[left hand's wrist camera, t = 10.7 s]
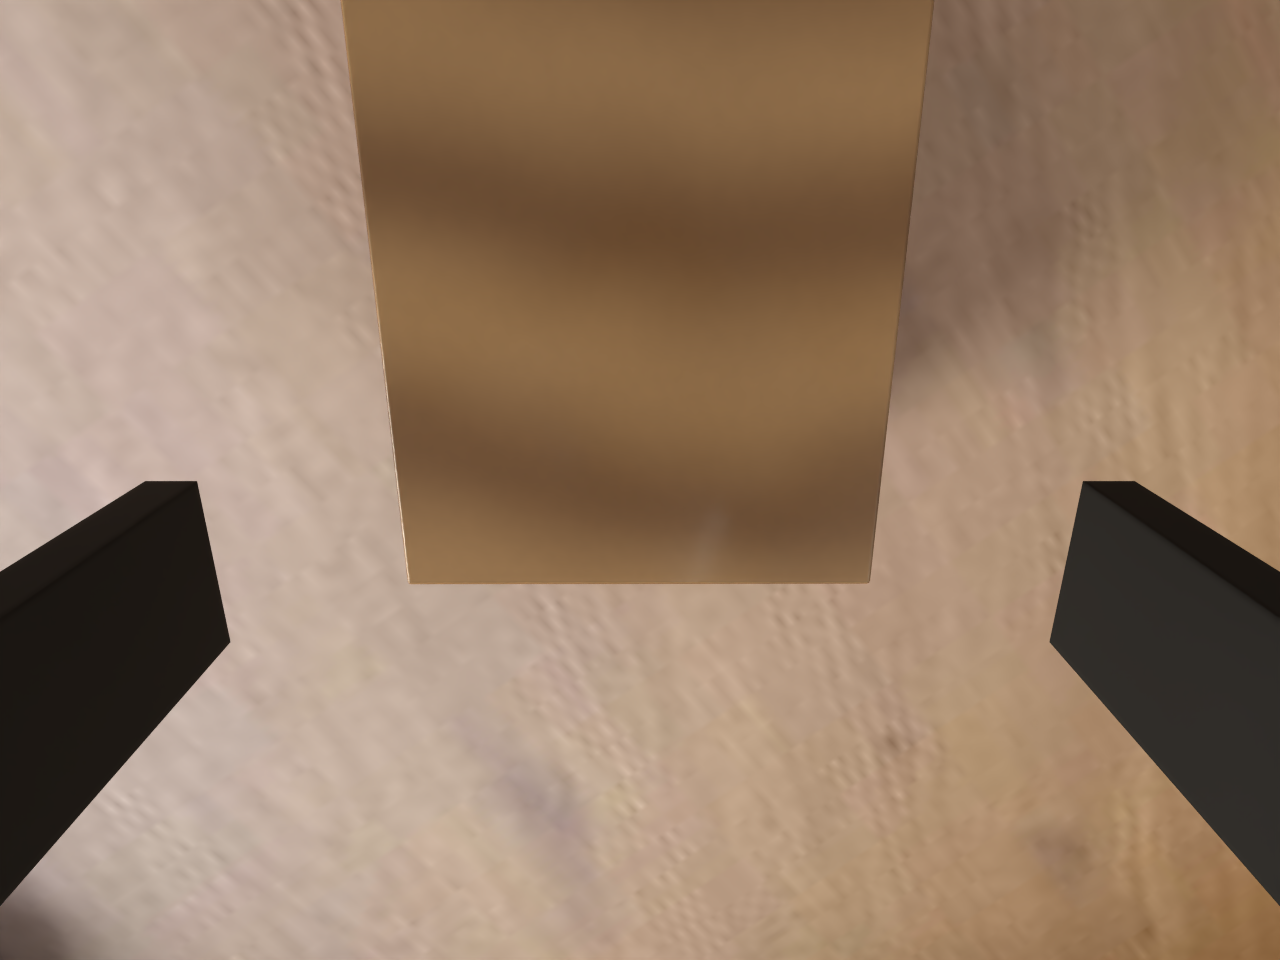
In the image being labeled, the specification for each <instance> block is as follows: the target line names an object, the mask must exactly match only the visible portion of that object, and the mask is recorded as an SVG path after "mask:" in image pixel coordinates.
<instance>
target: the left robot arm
mask: <svg viewBox="0 0 1280 960" xmlns="http://www.w3.org/2000/svg"><path fill="white" fill-rule="evenodd" d="M229 643H230V638H229V633H228V628H227V623H226V619H225V614H224V609H223V604H222V599H221V594H220V590H219V585H218V580H217V575H216V570H215V566H214V561H213V556H212V551H211V546H210V542H209V537H208V532H207V527H206V522H205V518H204V513H203V508H202V503H201V498H200V493H199V489H198V484H197V481H145V482H143V483H142V484H140V485H138V486H137V487H135V488H134V489H132V490H130V491H129V492H127V493H126V494H124V495H122V496H121V497H119V498H118V499H116V500H114V501H113V502H111V503H110V504H108V505H106V506H105V507H103V508H102V509H100V510H98V511H97V512H95V513H94V514H92V515H90V516H89V517H87V518H86V519H84V520H82V521H81V522H79V523H78V524H76V525H74V526H73V527H71V528H70V529H68V530H66V531H65V532H63V533H62V534H60V535H58V536H57V537H55V538H54V539H52V540H50V541H49V542H47V543H46V544H44V545H42V546H41V547H39V548H38V549H36V550H34V551H33V552H31V553H30V554H28V555H26V556H25V557H23V558H22V559H20V560H18V561H17V562H15V563H14V564H12V565H10V566H9V567H7V568H6V569H4V570H2V571H1V572H0V906H1V905H2V903H3V902H4V901H5V900H6V899H7V898H8V896H9V895H10V894H11V893H12V892H13V891H14V890H15V888H16V887H17V886H18V885H19V884H20V883H21V882H22V880H23V879H24V878H25V877H26V876H27V875H28V874H29V872H30V871H31V870H32V869H33V868H34V867H35V866H36V864H37V863H38V862H39V861H40V860H41V859H42V857H43V856H44V855H45V854H46V853H47V852H48V851H49V849H50V848H51V847H52V846H53V845H54V844H55V843H56V841H57V840H58V839H59V838H60V837H61V836H62V835H63V833H64V832H65V831H66V830H67V829H68V828H69V827H70V825H71V824H72V823H73V822H74V821H75V820H76V819H77V817H78V816H79V815H80V814H81V813H82V812H83V810H84V809H85V808H86V807H87V806H88V805H89V804H90V802H91V801H92V800H93V799H94V798H95V797H96V796H97V794H98V793H99V792H100V791H101V790H102V789H103V788H104V786H105V785H106V784H107V783H108V782H109V781H110V780H111V778H112V777H113V776H114V775H115V774H116V773H117V771H118V770H119V769H120V768H121V767H122V766H123V765H124V763H125V762H126V761H127V760H128V759H129V758H130V757H131V755H132V754H133V753H134V752H135V751H136V750H137V749H138V747H139V746H140V745H141V744H142V743H143V742H144V741H145V739H146V738H147V737H148V736H149V735H150V734H151V732H152V731H153V730H154V729H155V728H156V727H157V726H158V724H159V723H160V722H161V721H162V720H163V719H164V718H165V716H166V715H167V714H168V713H169V712H170V711H171V710H172V708H173V707H174V706H175V705H176V704H177V703H178V702H179V700H180V699H181V698H182V697H183V696H184V695H185V693H186V692H187V691H188V690H189V689H190V688H191V687H192V685H193V684H194V683H195V682H196V681H197V680H198V679H199V677H200V676H201V675H202V674H203V673H204V672H205V671H206V669H207V668H208V667H209V666H210V665H211V664H212V663H213V661H214V660H215V659H216V658H217V657H218V656H219V655H220V653H221V652H222V651H223V650H224V649H225V648H226V646H227V645H228V644H229ZM1050 643H1051V644H1052V645H1053V646H1054V648H1055V649H1056V650H1057V651H1058V652H1059V653H1060V655H1061V656H1062V657H1063V658H1064V659H1065V660H1066V661H1067V663H1068V664H1069V665H1070V666H1071V667H1072V668H1073V669H1074V671H1075V672H1076V673H1077V674H1078V675H1079V676H1080V677H1081V679H1082V680H1083V681H1084V682H1085V683H1086V684H1087V685H1088V687H1089V688H1090V689H1091V690H1092V691H1093V692H1094V693H1095V695H1096V696H1097V697H1098V698H1099V699H1100V700H1101V702H1102V703H1103V704H1104V705H1105V706H1106V707H1107V708H1108V710H1109V711H1110V712H1111V713H1112V714H1113V715H1114V716H1115V718H1116V719H1117V720H1118V721H1119V722H1120V723H1121V724H1122V726H1123V727H1124V728H1125V729H1126V730H1127V731H1128V732H1129V734H1130V735H1131V736H1132V737H1133V738H1134V739H1135V741H1136V742H1137V743H1138V744H1139V745H1140V746H1141V747H1142V749H1143V750H1144V751H1145V752H1146V753H1147V754H1148V755H1149V757H1150V758H1151V759H1152V760H1153V761H1154V762H1155V763H1156V765H1157V766H1158V767H1159V768H1160V769H1161V770H1162V771H1163V773H1164V774H1165V775H1166V776H1167V777H1168V778H1169V780H1170V781H1171V782H1172V783H1173V784H1174V785H1175V786H1176V788H1177V789H1178V790H1179V791H1180V792H1181V793H1182V794H1183V796H1184V797H1185V798H1186V799H1187V800H1188V801H1189V802H1190V804H1191V805H1192V806H1193V807H1194V808H1195V809H1196V810H1197V812H1198V813H1199V814H1200V815H1201V816H1202V817H1203V819H1204V820H1205V821H1206V822H1207V823H1208V824H1209V825H1210V827H1211V828H1212V829H1213V830H1214V831H1215V832H1216V833H1217V835H1218V836H1219V837H1220V838H1221V839H1222V840H1223V841H1224V843H1225V844H1226V845H1227V846H1228V847H1229V848H1230V849H1231V851H1232V852H1233V853H1234V854H1235V855H1236V856H1237V857H1238V859H1239V860H1240V861H1241V862H1242V863H1243V864H1244V866H1245V867H1246V868H1247V869H1248V870H1249V871H1250V872H1251V874H1252V875H1253V876H1254V877H1255V878H1256V879H1257V880H1258V882H1259V883H1260V884H1261V885H1262V886H1263V887H1264V888H1265V890H1266V891H1267V892H1268V893H1269V894H1270V895H1271V896H1272V898H1273V899H1274V900H1275V901H1276V902H1277V903H1278V905H1279V906H1280V572H1279V571H1278V570H1276V569H1274V568H1273V567H1271V566H1270V565H1268V564H1266V563H1265V562H1263V561H1262V560H1260V559H1258V558H1257V557H1255V556H1254V555H1252V554H1250V553H1249V552H1247V551H1246V550H1244V549H1242V548H1241V547H1239V546H1238V545H1236V544H1234V543H1233V542H1231V541H1230V540H1228V539H1226V538H1225V537H1223V536H1222V535H1220V534H1218V533H1217V532H1215V531H1214V530H1212V529H1210V528H1209V527H1207V526H1206V525H1204V524H1202V523H1201V522H1199V521H1198V520H1196V519H1194V518H1193V517H1191V516H1190V515H1188V514H1186V513H1185V512H1183V511H1182V510H1180V509H1178V508H1177V507H1175V506H1174V505H1172V504H1170V503H1169V502H1167V501H1166V500H1164V499H1162V498H1161V497H1159V496H1158V495H1156V494H1154V493H1153V492H1151V491H1150V490H1148V489H1146V488H1145V487H1143V486H1142V485H1140V484H1138V483H1137V482H1135V481H1083V484H1082V489H1081V493H1080V498H1079V503H1078V508H1077V513H1076V518H1075V522H1074V527H1073V532H1072V537H1071V542H1070V546H1069V551H1068V556H1067V561H1066V566H1065V570H1064V575H1063V580H1062V585H1061V590H1060V594H1059V599H1058V604H1057V609H1056V614H1055V619H1054V623H1053V628H1052V633H1051V638H1050Z"/></svg>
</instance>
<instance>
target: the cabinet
mask: <svg viewBox="0 0 1280 960" xmlns="http://www.w3.org/2000/svg"><path fill="white" fill-rule="evenodd" d="M341 7H342V16H343V24H344V33H345V42H346V50H347V59H348V68H349V76H350V85H351V94H352V102H353V111H354V120H355V128H356V137H357V146H358V154H359V163H360V172H361V180H362V189H363V197H364V206H365V215H366V223H367V232H368V241H369V249H370V258H371V267H372V275H373V284H374V293H375V301H376V310H377V319H378V327H379V336H380V345H381V353H382V362H383V371H384V379H385V388H386V397H387V405H388V414H389V423H390V431H391V440H392V449H393V457H394V466H395V475H396V483H397V492H398V501H399V509H400V518H401V527H402V535H403V544H404V553H405V561H406V570H407V579H408V583H409V584H862V583H869V581H870V575H871V566H872V557H873V548H874V539H875V530H876V521H877V512H878V503H879V494H880V485H881V476H882V467H883V458H884V449H885V440H886V431H887V422H888V413H889V404H890V395H891V386H892V377H893V368H894V359H895V350H896V341H897V332H898V323H899V314H900V305H901V296H902V287H903V278H904V269H905V260H906V251H907V242H908V233H909V224H910V215H911V206H912V197H913V188H914V179H915V170H916V161H917V152H918V143H919V134H920V125H921V116H922V107H923V98H924V89H925V80H926V71H927V62H928V53H929V44H930V35H931V26H932V17H933V8H934V0H341Z"/></svg>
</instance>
